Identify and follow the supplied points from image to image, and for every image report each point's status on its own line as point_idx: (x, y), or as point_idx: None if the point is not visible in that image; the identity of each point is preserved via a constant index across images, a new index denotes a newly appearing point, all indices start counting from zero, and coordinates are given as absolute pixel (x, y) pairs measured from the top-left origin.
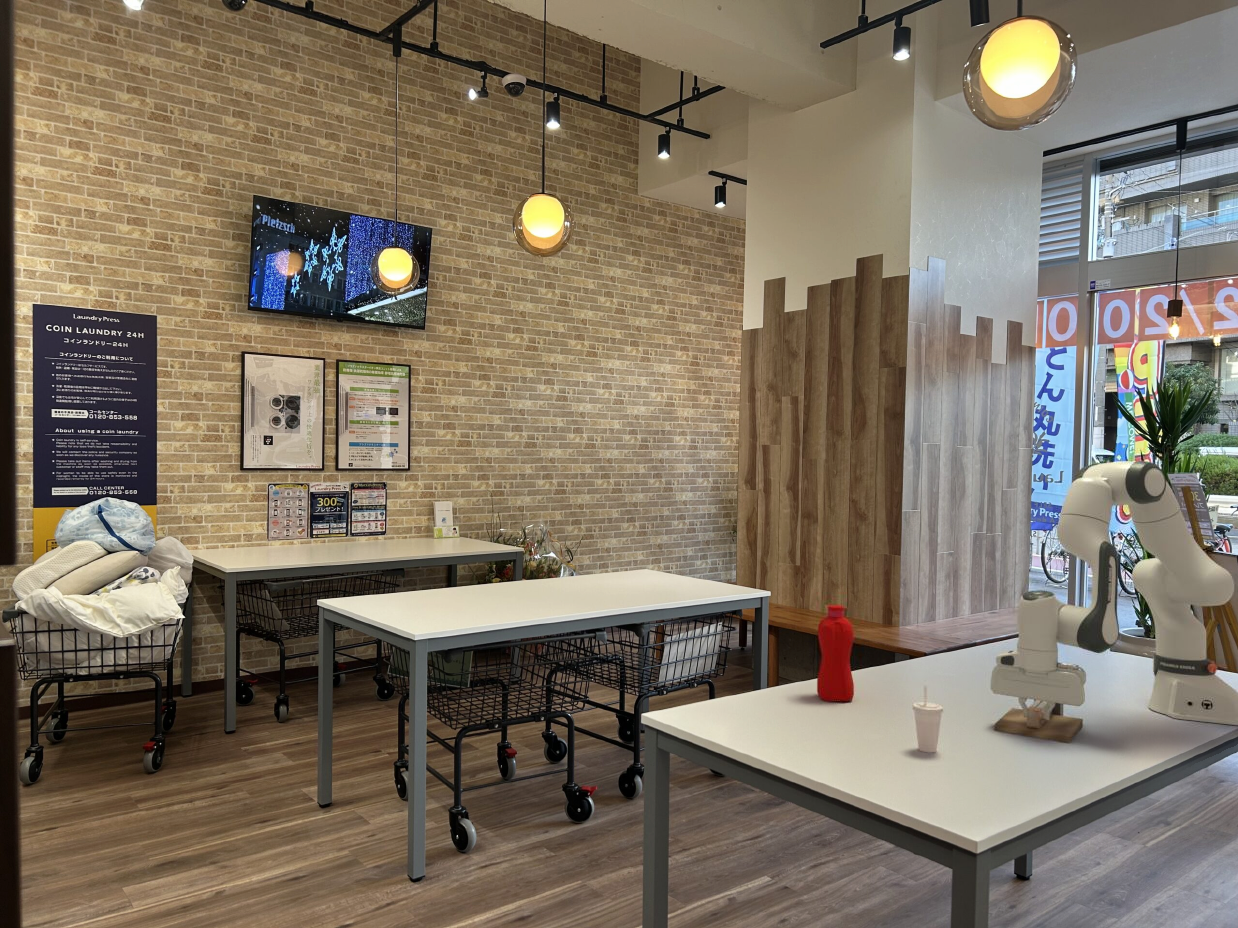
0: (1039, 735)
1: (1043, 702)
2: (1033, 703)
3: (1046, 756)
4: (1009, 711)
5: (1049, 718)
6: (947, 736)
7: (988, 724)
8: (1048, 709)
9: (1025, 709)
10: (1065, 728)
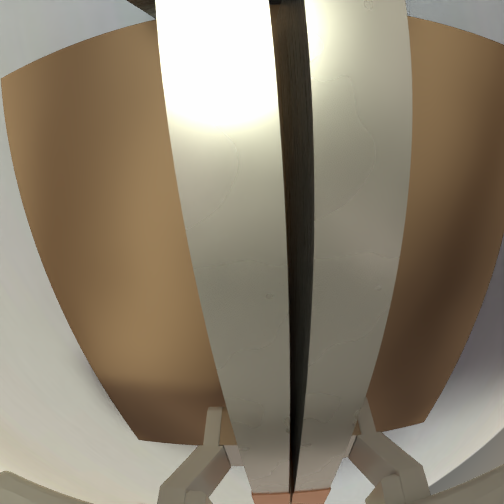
0: None
1: (328, 398)
2: (248, 455)
3: (346, 483)
4: (26, 195)
5: (364, 401)
6: (116, 473)
7: (81, 370)
8: (370, 477)
9: (225, 468)
10: (431, 349)
